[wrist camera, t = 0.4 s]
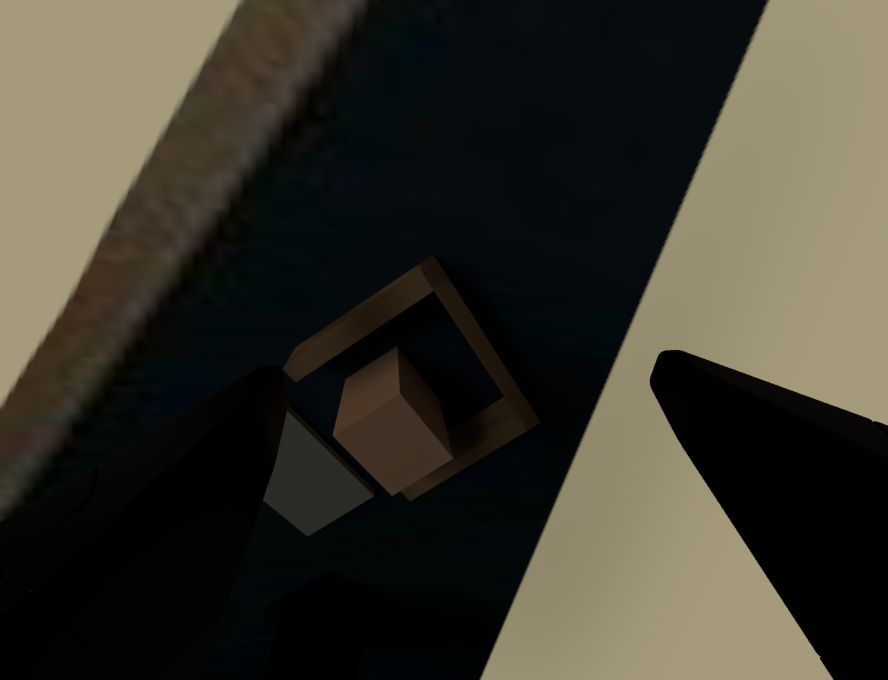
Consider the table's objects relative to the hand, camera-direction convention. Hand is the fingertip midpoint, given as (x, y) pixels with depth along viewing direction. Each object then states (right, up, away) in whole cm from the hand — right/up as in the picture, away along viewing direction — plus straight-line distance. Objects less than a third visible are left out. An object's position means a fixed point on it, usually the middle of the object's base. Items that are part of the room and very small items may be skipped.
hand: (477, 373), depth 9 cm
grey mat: (-12, -7, +16) cm, 21 cm away
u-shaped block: (-2, -2, +15) cm, 16 cm away
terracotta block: (-4, -3, +16) cm, 16 cm away
